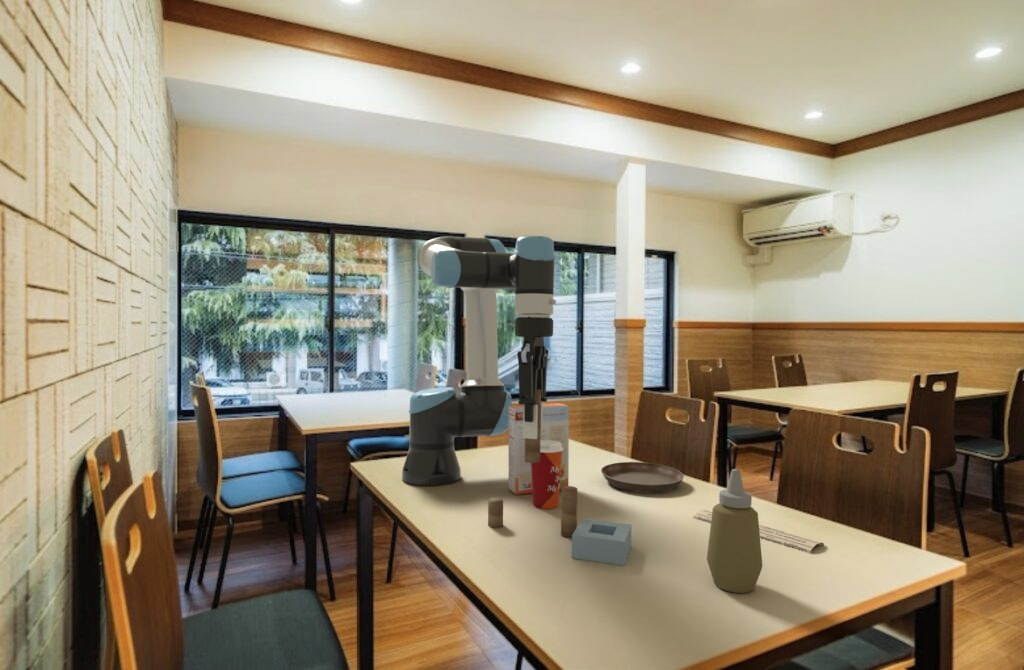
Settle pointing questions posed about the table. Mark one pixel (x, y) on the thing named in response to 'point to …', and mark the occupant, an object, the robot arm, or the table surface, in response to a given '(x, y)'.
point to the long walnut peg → (534, 444)
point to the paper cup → (547, 475)
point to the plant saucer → (642, 477)
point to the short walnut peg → (495, 513)
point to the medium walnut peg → (568, 511)
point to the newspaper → (772, 534)
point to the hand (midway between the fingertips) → (532, 436)
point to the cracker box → (552, 429)
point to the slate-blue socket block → (602, 541)
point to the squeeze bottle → (734, 539)
